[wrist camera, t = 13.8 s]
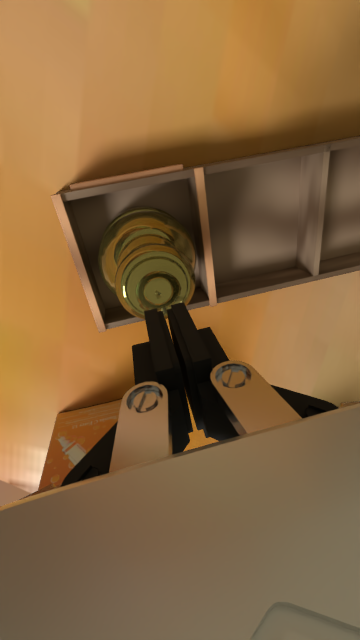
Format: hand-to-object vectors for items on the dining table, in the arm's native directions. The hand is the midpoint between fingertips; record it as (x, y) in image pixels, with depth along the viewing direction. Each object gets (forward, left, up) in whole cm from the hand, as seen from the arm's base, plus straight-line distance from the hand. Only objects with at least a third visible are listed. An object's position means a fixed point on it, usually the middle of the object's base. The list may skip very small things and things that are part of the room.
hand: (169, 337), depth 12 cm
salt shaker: (0, 0, -15) cm, 15 cm away
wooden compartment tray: (0, -10, -16) cm, 19 cm away
